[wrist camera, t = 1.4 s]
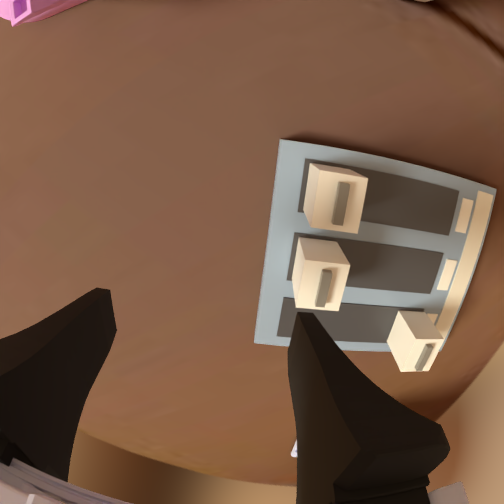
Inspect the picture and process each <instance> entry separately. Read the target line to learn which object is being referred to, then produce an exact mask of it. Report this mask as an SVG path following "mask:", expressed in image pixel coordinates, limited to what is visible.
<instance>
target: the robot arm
mask: <svg viewBox="0 0 504 504" xmlns="http://www.w3.org/2000/svg"><path fill="white" fill-rule="evenodd" d="M116 331H117V329H116V323H115V318H114V312H113V306H112V300H111V293H110V290H108V289H101V288H95V289H93V290H91V291H90V292H88V293H86V294H85V295H83V296H81V297H80V298H78V299H77V300H75V301H73V302H72V303H70V304H69V305H67V306H65V307H64V308H62V309H61V310H59V311H57V312H56V313H54V314H52V315H51V316H49V317H47V318H45V319H44V320H42V321H40V322H38V323H37V324H35V325H33V326H31V327H29V328H27V329H24V330H22V331H20V332H18V333H16V334H13V335H10V336H8V337H5V338H2V339H0V504H63V503H65V504H132V503H129V502H125V501H121V500H117V499H114V498H111V497H107V496H104V495H101V494H98V493H95V492H92V491H89V490H86V489H83V488H81V487H78V486H75V485H73V484H70V483H68V473H69V465H70V458H71V453H72V448H73V443H74V438H75V435H76V431H77V427H78V423H79V420H80V416H81V413H82V410H83V407H84V404H85V401H86V398H87V396H88V394H89V391H90V389H91V387H92V385H93V383H94V381H95V379H96V377H97V375H98V373H99V371H100V369H101V367H102V365H103V363H104V361H105V359H106V357H107V355H108V353H109V351H110V349H111V346H112V343H113V340H114V337H115V334H116ZM288 376H289V383H290V389H291V396H292V402H293V409H294V415H295V421H296V431H297V440H296V442H295V444H294V447H293V449H292V452H291V456H293V457H297V498H296V504H469V501H468V498H467V495H466V492H465V489H464V486H463V483H462V482H457V483H454V484H451V485H448V486H445V487H442V488H439V489H436V490H434V491H432V492H430V493H427V490H426V486H428V485H429V483H430V481H429V478H428V474H429V473H430V472H431V471H433V470H434V469H435V468H436V467H437V466H438V465H439V464H440V463H441V462H442V461H443V460H444V459H445V458H446V457H447V455H448V453H449V451H450V446H449V443H448V441H447V438H446V436H445V433H444V431H443V429H442V427H441V425H440V424H438V423H436V422H433V421H431V420H429V419H427V418H425V417H423V416H421V415H419V414H417V413H416V412H414V411H412V410H411V409H409V408H407V407H406V406H404V405H402V404H401V403H399V402H398V401H396V400H395V399H393V398H392V397H391V396H389V395H388V394H387V393H385V392H384V391H383V390H381V389H380V388H379V387H378V386H377V385H375V384H374V383H373V382H372V381H371V380H370V379H369V378H368V377H366V376H365V375H364V374H363V373H362V372H361V371H360V370H359V369H358V368H357V367H356V366H355V365H354V364H353V363H352V362H351V360H350V359H349V358H348V357H347V356H346V355H345V354H344V353H343V351H342V350H341V349H340V348H339V347H338V345H337V344H336V343H335V342H334V340H333V339H332V338H331V336H330V335H329V334H328V332H327V331H326V330H325V328H324V327H323V325H322V324H321V323H320V321H319V320H318V319H317V317H316V316H315V315H314V313H310V312H297V315H296V319H295V323H294V328H293V332H292V336H291V340H290V344H289V348H288ZM59 501H61V502H63V503H61V502H59Z"/></svg>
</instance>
